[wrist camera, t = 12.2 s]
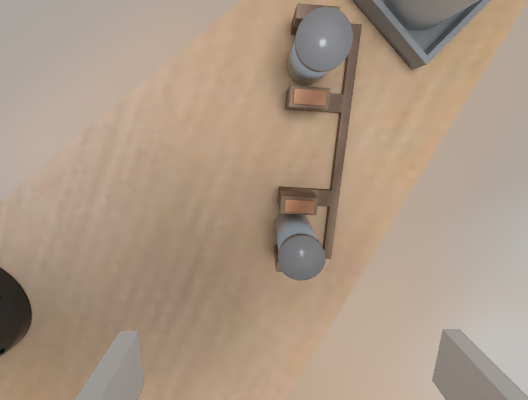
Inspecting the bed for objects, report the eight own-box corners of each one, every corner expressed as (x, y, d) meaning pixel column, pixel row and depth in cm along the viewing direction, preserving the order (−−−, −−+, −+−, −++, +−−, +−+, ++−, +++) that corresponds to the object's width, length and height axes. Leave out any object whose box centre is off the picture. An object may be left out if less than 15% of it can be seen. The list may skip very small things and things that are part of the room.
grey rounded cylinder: (284, 84, 33) (293, 68, 24) (287, 41, 32) (298, 4, 22) (323, 87, 33) (348, 71, 24) (328, 43, 32) (356, 9, 23)
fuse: (273, 239, 38) (276, 279, 28) (275, 206, 37) (280, 236, 27) (307, 241, 38) (322, 281, 29) (310, 208, 37) (327, 238, 27)
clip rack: (274, 253, 39) (276, 272, 33) (292, 22, 32) (297, 2, 26) (329, 256, 39) (339, 276, 34) (359, 26, 32) (377, 7, 27)
